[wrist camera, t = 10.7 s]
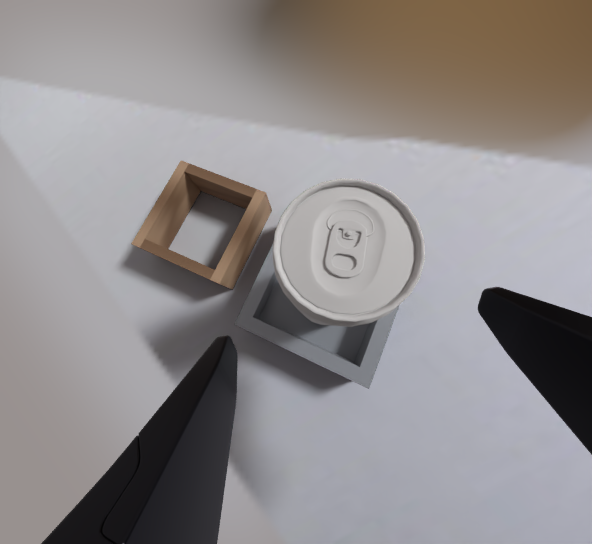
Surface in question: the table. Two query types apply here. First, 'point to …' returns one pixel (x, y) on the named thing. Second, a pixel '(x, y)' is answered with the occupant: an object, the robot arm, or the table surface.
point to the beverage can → (347, 252)
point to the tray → (313, 331)
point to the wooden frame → (177, 206)
